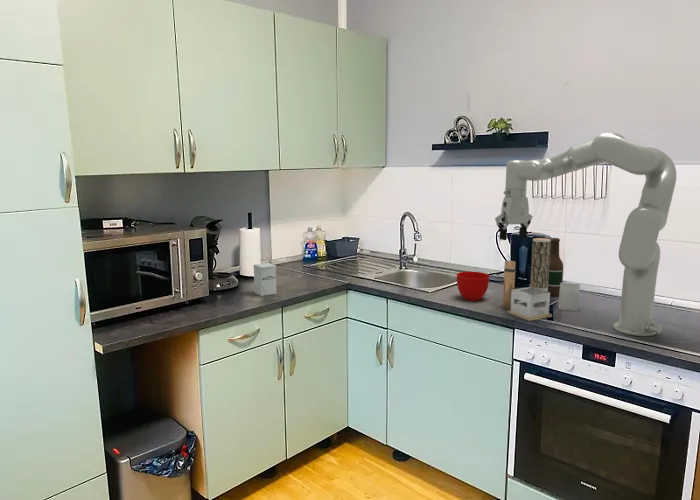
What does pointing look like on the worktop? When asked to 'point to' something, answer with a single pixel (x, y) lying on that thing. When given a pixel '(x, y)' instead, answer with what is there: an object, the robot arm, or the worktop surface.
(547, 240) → the wooden log
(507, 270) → the wooden post
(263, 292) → the supplement box
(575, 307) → the light gray block
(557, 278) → the beer bottle
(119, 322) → the worktop surface
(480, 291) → the ceramic cup
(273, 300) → the worktop surface
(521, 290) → the collar stand
